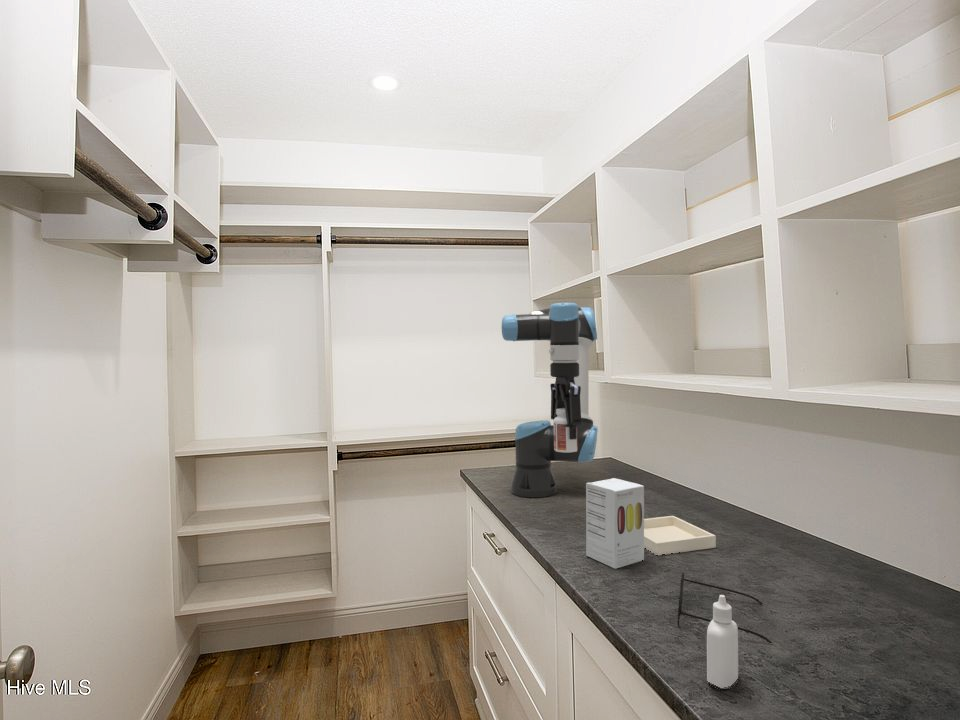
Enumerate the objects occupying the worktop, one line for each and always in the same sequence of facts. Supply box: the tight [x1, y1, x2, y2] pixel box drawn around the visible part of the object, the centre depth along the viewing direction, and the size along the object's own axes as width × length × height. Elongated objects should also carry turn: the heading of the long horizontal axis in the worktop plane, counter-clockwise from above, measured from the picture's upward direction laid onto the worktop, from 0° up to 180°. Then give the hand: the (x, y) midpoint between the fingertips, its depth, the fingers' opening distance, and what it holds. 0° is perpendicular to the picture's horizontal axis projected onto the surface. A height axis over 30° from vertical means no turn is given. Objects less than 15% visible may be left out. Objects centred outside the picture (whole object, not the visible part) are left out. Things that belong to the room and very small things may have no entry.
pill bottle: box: [553, 408, 578, 453], centre depth 140 cm, size 6×6×11 cm
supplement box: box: [585, 477, 645, 570], centre depth 119 cm, size 10×9×17 cm
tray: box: [644, 515, 717, 556], centre depth 130 cm, size 16×16×3 cm
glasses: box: [677, 572, 773, 644], centre depth 93 cm, size 14×15×5 cm
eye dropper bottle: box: [706, 594, 739, 688], centre depth 75 cm, size 4×6×12 cm
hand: (565, 449), depth 140 cm, fingers closed on pill bottle, 6 cm apart
